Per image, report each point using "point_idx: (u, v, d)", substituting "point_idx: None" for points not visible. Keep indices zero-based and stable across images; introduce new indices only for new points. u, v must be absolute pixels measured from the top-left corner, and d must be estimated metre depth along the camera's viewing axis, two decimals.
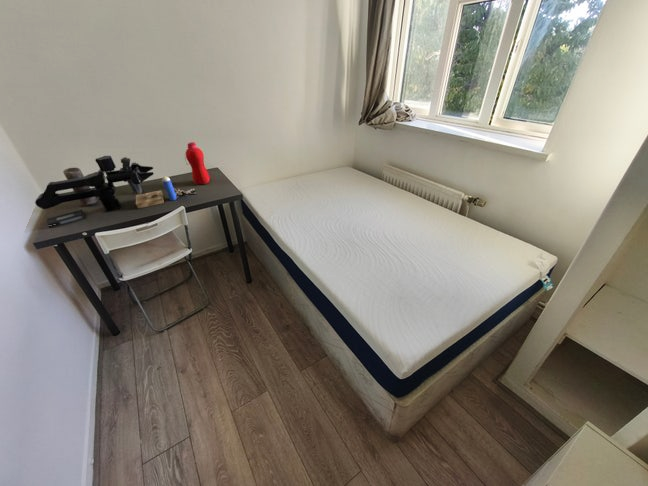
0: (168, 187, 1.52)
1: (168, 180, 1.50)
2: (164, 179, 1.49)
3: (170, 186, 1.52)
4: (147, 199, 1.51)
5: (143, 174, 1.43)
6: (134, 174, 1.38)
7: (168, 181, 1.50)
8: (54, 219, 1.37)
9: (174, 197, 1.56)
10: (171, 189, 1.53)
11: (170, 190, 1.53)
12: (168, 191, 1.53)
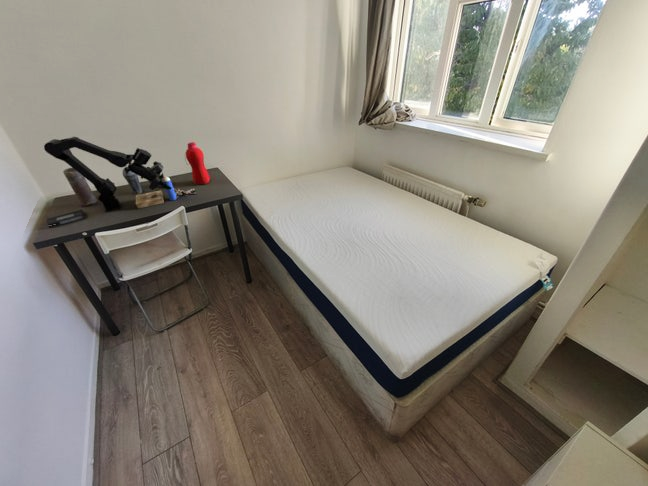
0: None
1: (168, 180, 1.50)
2: (164, 179, 1.49)
3: (170, 186, 1.52)
4: (147, 199, 1.51)
5: (163, 184, 1.49)
6: (157, 182, 1.42)
7: (168, 181, 1.50)
8: (54, 219, 1.37)
9: (174, 197, 1.56)
10: (171, 189, 1.53)
11: (170, 190, 1.53)
12: (168, 191, 1.53)
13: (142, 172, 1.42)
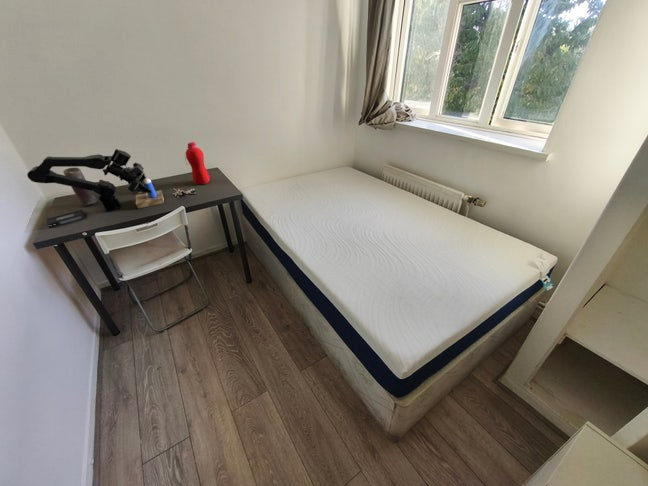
0: None
1: (149, 182, 1.48)
2: (145, 181, 1.47)
3: (151, 188, 1.50)
4: (147, 199, 1.51)
5: (142, 187, 1.45)
6: (136, 183, 1.40)
7: (149, 183, 1.49)
8: (54, 219, 1.37)
9: None
10: (152, 191, 1.51)
11: (151, 192, 1.51)
12: (149, 193, 1.51)
13: (121, 174, 1.40)
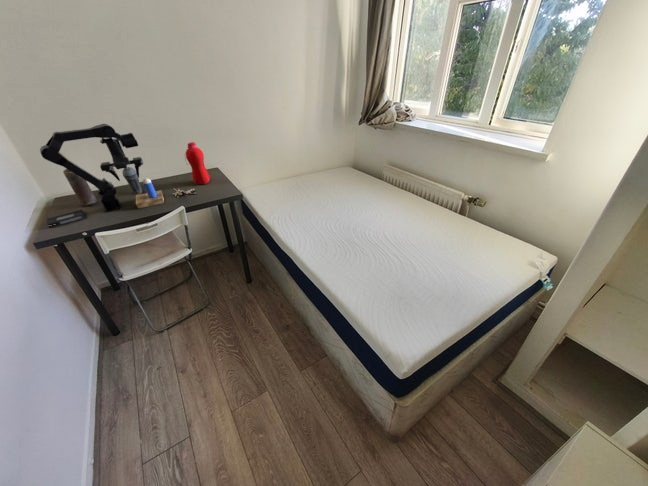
0: (149, 189, 1.50)
1: (149, 182, 1.48)
2: (145, 181, 1.47)
3: (151, 188, 1.50)
4: (147, 199, 1.51)
5: None
6: (101, 169, 1.39)
7: (149, 183, 1.49)
8: (54, 219, 1.37)
9: None
10: (152, 191, 1.51)
11: (151, 192, 1.51)
12: (149, 193, 1.51)
13: (110, 152, 1.39)
